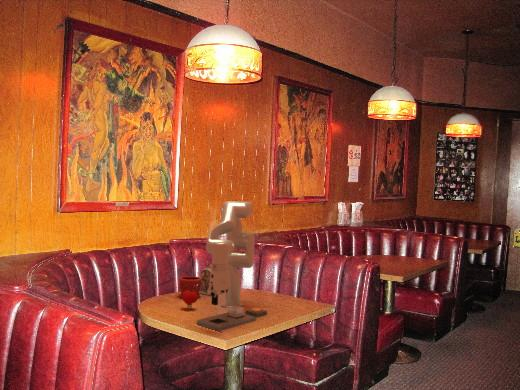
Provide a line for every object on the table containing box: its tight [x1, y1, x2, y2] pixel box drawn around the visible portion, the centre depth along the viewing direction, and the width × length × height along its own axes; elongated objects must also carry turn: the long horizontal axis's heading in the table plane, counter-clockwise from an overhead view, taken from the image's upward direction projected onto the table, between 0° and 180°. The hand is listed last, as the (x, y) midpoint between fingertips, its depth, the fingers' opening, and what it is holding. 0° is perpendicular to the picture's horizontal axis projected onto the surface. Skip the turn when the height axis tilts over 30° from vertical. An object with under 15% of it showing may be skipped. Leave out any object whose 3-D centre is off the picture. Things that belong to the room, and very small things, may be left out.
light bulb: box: [181, 291, 199, 310], centre depth 281 cm, size 9×7×10 cm
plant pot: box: [179, 275, 201, 298], centre depth 308 cm, size 13×13×12 cm
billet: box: [210, 291, 226, 307], centre depth 251 cm, size 5×5×6 cm
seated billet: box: [228, 306, 244, 319], centre depth 261 cm, size 5×5×6 cm
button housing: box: [245, 308, 268, 318], centre depth 272 cm, size 8×8×3 cm
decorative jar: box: [199, 264, 212, 297], centre depth 319 cm, size 12×12×18 cm
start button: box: [250, 307, 263, 312], centre depth 272 cm, size 4×4×2 cm
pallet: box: [196, 311, 257, 333], centre depth 256 cm, size 16×26×2 cm, turn 139°
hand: (218, 303), depth 251 cm, fingers closed on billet, 5 cm apart
